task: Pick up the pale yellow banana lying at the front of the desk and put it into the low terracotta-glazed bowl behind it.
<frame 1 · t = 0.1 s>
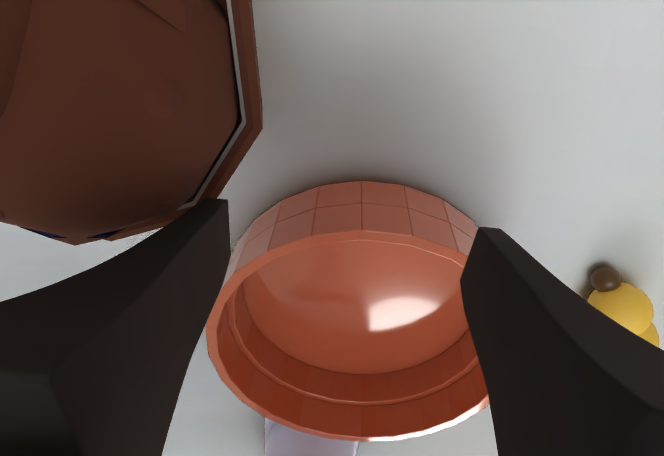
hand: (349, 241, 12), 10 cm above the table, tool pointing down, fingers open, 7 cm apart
banana: (590, 335, 28), on the table
bowl: (360, 294, 27), on the table
ice cream bowl: (178, 5, 18), on the table
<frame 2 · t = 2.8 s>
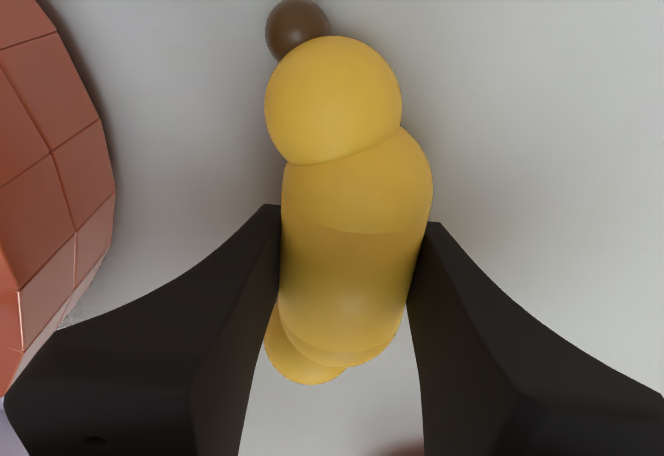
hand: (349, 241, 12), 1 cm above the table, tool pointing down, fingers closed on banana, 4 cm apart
banana: (348, 215, 14), on the table, touching gripper
when the fingers open (2 cm above the table, at t = 7.0 s): banana stays where it is, resting on bowl.
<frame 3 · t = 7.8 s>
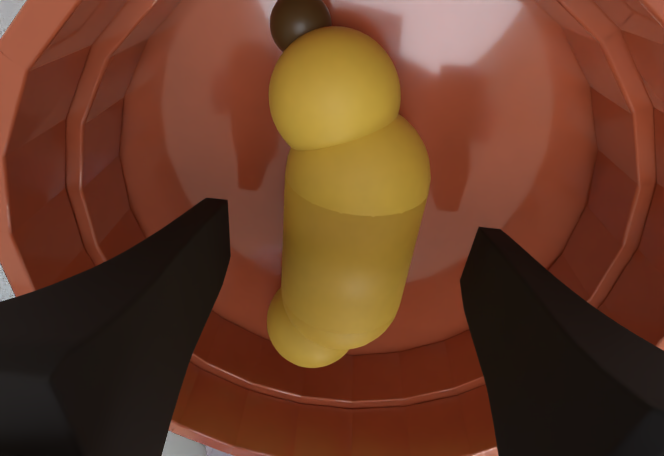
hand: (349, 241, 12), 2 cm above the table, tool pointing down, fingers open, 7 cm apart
banana: (349, 203, 14), resting on bowl
bowl: (350, 197, 14), on the table
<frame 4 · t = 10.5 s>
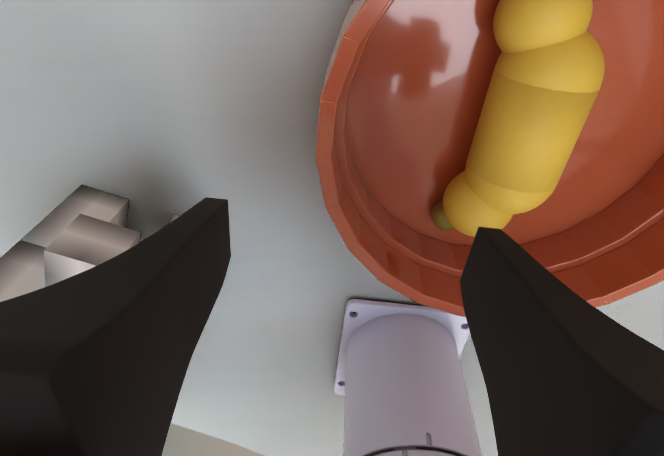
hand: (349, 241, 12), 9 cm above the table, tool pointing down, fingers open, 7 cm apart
banana: (513, 110, 19), resting on bowl
bowl: (510, 108, 19), on the table
toy llama: (141, 283, 27), on the table
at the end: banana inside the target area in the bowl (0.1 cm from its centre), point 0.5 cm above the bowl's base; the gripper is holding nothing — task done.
